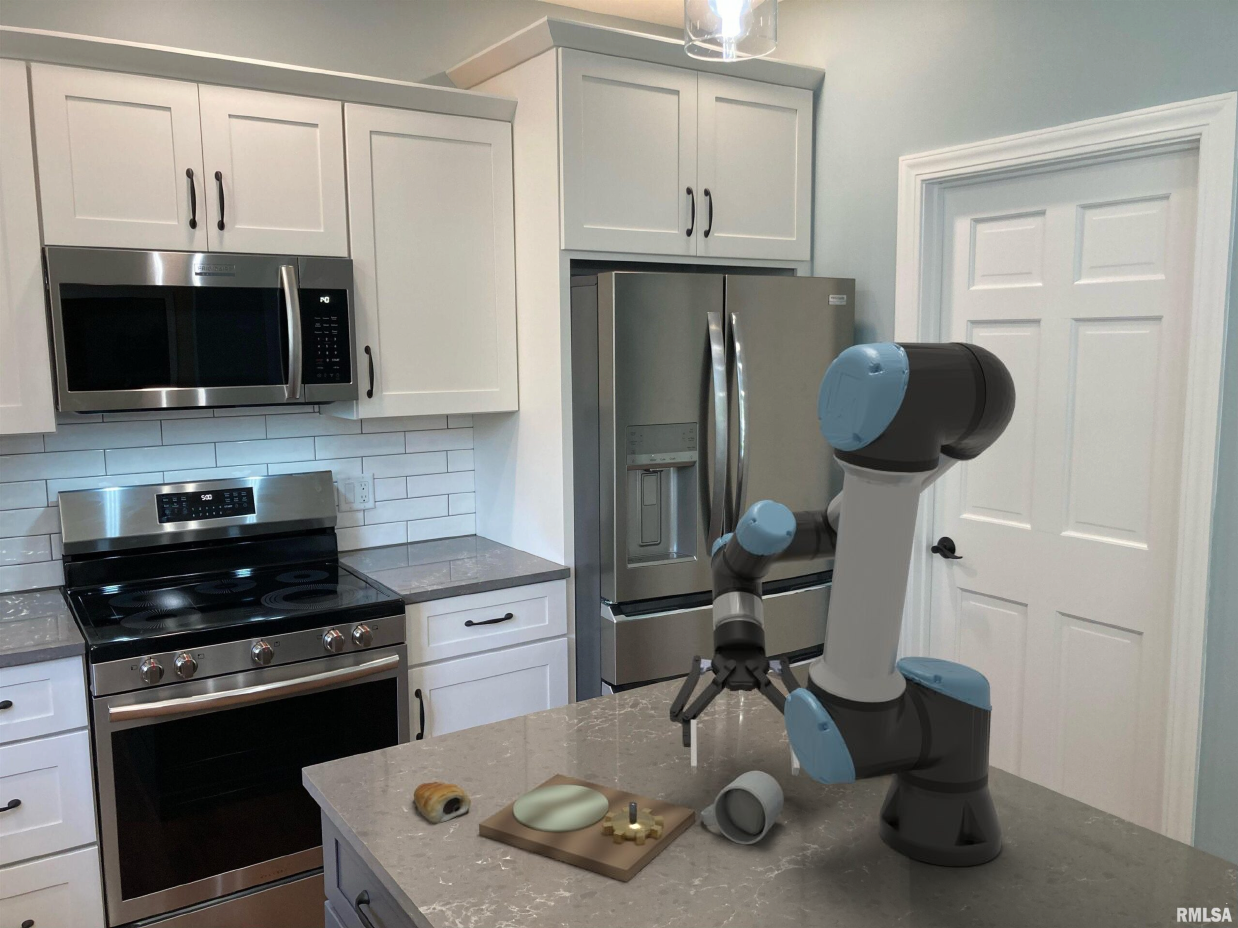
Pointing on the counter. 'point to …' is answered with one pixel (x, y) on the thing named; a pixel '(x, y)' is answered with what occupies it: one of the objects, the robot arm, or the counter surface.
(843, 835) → the counter surface
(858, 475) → the robot arm
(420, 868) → the counter surface
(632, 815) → the gear
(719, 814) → the ceramic mug
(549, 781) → the gear board
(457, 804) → the pastry
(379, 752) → the counter surface
